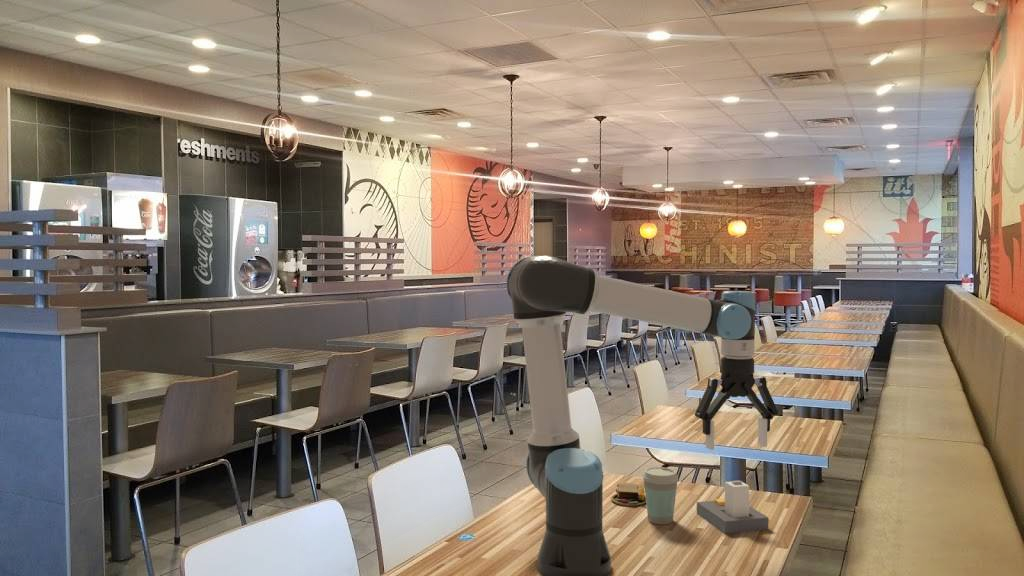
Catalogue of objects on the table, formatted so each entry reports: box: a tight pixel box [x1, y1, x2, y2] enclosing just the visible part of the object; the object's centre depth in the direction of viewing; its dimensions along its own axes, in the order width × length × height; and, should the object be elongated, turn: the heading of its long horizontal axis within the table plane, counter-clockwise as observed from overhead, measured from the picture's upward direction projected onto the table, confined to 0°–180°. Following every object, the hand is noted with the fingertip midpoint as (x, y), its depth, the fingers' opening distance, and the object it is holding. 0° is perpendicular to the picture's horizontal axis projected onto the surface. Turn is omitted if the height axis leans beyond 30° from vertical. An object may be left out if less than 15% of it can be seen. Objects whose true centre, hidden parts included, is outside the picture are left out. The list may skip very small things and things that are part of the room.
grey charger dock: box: [696, 498, 769, 535], centre depth 177 cm, size 11×14×4 cm
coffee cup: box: [642, 466, 680, 525], centre depth 179 cm, size 8×8×12 cm
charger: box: [724, 480, 750, 518], centre depth 175 cm, size 4×4×11 cm
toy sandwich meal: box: [610, 482, 646, 507], centre depth 194 cm, size 9×10×4 cm
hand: (736, 447), depth 174 cm, fingers open, 13 cm apart
